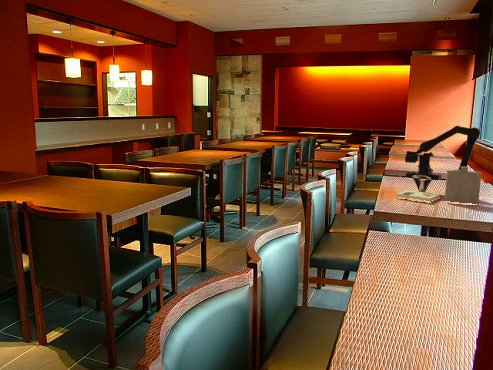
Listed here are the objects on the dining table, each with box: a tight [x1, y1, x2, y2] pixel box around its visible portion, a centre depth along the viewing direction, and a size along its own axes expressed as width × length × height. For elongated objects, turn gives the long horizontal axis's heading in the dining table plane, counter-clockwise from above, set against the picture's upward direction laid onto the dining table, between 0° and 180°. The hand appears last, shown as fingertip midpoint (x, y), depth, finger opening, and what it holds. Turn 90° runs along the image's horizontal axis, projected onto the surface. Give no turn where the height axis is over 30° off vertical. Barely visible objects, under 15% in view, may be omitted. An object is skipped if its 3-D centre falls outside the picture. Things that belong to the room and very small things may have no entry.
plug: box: [418, 179, 426, 193], centre depth 245 cm, size 3×3×8 cm
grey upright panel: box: [443, 166, 482, 205], centre depth 219 cm, size 16×4×20 cm, turn 66°
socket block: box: [396, 189, 441, 201], centre depth 232 cm, size 18×14×3 cm
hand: (422, 190), depth 245 cm, fingers closed on plug, 3 cm apart
